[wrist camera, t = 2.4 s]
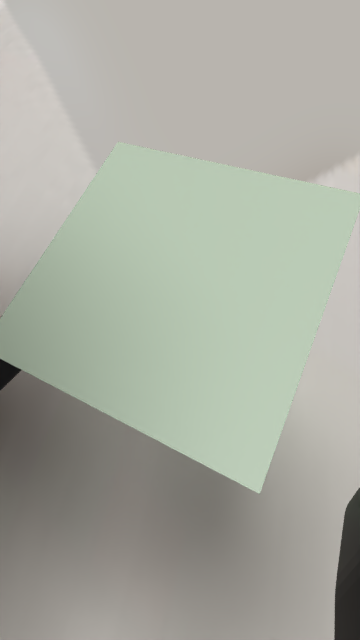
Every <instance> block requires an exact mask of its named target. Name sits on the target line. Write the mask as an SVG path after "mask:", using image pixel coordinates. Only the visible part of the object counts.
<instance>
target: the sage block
mask: <svg viewBox="0 0 360 640" xmlns="http://www.w3.org/2000/svg"><path fill="white" fill-rule="evenodd" d="M359 210H360V193H355V192H350V191H346V190H341V189H336V188H332V187H327V186H322V185H318V184H313V183H308V182H304V181H299V180H294V179H290V178H285V177H280V176H276V175H270V174H266V173H262V172H257V171H252V170H247V169H243V168H238V167H233V166H229V165H224V164H219V163H215V162H210V161H205V160H201V159H196V158H191V157H186V156H182V155H177V154H172V153H168V152H163V151H158V150H154V149H149V148H144V147H140V146H135V145H130V144H126V143H121V142H118V143H117V144H116V146H115V147H114V149H113V150H112V152H111V153H110V155H109V156H108V158H107V159H106V161H105V162H104V164H103V165H102V167H101V168H100V170H99V171H98V173H97V174H96V176H95V177H94V179H93V180H92V182H91V183H90V185H89V186H88V188H87V189H86V191H85V192H84V194H83V195H82V197H81V198H80V200H79V201H78V203H77V204H76V206H75V207H74V209H73V210H72V212H71V213H70V215H69V216H68V218H67V219H66V221H65V222H64V224H63V225H62V227H61V228H60V230H59V231H58V233H57V234H56V236H55V237H54V239H53V240H52V242H51V243H50V245H49V246H48V248H47V249H46V251H45V252H44V254H43V255H42V257H41V258H40V260H39V261H38V263H37V264H36V266H35V267H34V269H33V270H32V272H31V273H30V275H29V276H28V278H27V279H26V281H25V282H24V284H23V285H22V287H21V288H20V290H19V291H18V293H17V294H16V296H15V297H14V299H13V300H12V302H11V303H10V305H9V306H8V308H7V309H6V311H5V312H4V314H3V315H2V317H1V318H0V359H2V360H4V361H6V362H8V363H10V364H11V365H13V366H15V367H17V368H19V369H21V370H23V371H25V372H27V373H29V374H31V375H33V376H34V377H36V378H38V379H40V380H42V381H44V382H46V383H48V384H50V385H52V386H54V387H56V388H57V389H59V390H61V391H63V392H65V393H67V394H69V395H71V396H73V397H75V398H77V399H78V400H80V401H82V402H84V403H86V404H88V405H90V406H92V407H94V408H96V409H98V410H100V411H101V412H103V413H105V414H107V415H109V416H111V417H113V418H115V419H117V420H119V421H121V422H123V423H124V424H126V425H128V426H130V427H132V428H134V429H136V430H138V431H140V432H142V433H144V434H146V435H147V436H149V437H151V438H153V439H155V440H157V441H159V442H161V443H163V444H165V445H167V446H169V447H170V448H172V449H174V450H176V451H178V452H180V453H182V454H184V455H186V456H188V457H190V458H191V459H193V460H195V461H197V462H199V463H201V464H203V465H205V466H207V467H209V468H211V469H213V470H214V471H216V472H218V473H220V474H222V475H224V476H226V477H228V478H230V479H232V480H234V481H236V482H237V483H239V484H241V485H243V486H245V487H247V488H249V489H251V490H253V491H255V492H257V493H259V494H260V492H261V489H262V486H263V483H264V480H265V477H266V475H267V472H268V469H269V466H270V463H271V460H272V457H273V455H274V452H275V449H276V446H277V443H278V440H279V438H280V435H281V432H282V429H283V426H284V423H285V420H286V418H287V415H288V412H289V409H290V406H291V403H292V401H293V398H294V395H295V392H296V389H297V386H298V383H299V381H300V378H301V375H302V372H303V369H304V366H305V364H306V361H307V358H308V355H309V352H310V349H311V346H312V344H313V341H314V338H315V335H316V332H317V329H318V327H319V324H320V321H321V318H322V315H323V312H324V310H325V307H326V304H327V301H328V298H329V295H330V292H331V290H332V287H333V284H334V281H335V278H336V275H337V273H338V270H339V267H340V264H341V261H342V258H343V255H344V253H345V250H346V247H347V244H348V241H349V238H350V236H351V233H352V230H353V227H354V224H355V221H356V218H357V216H358V213H359Z"/></svg>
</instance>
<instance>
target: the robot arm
mask: <svg viewBox="0 0 360 640" xmlns="http://www.w3.org/2000/svg"><path fill="white" fill-rule="evenodd" d="M20 371H21V369H19V368H17V367H15V366H13V365H11V364H10V363H8V362H6V361H4V360H2V359H0V390H1V389H2V388H3V387H4V386H5V385H6V384H7V383H8V382H10V381H11V380H12V379H13V378H14V377H15V376H16V375H17V374H18V373H19V372H20ZM334 640H360V488H359V489H358V491H357V492H356V493H355V495H354V496H353V498H352V499H351V501H350V502H349V503H348V505H347V508H346V511H345V515H344V523H343V531H342V539H341V547H340V555H339V563H338V571H337V580H336V589H335V639H334Z"/></svg>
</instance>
